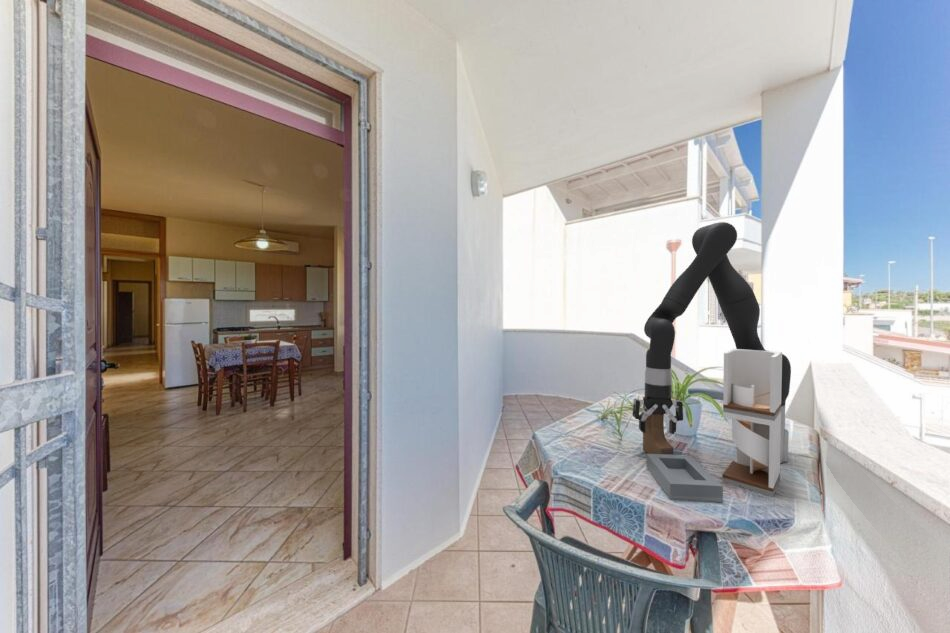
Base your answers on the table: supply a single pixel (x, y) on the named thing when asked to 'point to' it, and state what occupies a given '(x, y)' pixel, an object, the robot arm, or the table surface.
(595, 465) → the table surface
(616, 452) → the table surface
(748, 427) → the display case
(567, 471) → the table surface
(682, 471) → the grey tray
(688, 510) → the table surface
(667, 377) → the robot arm
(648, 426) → the wooden block
